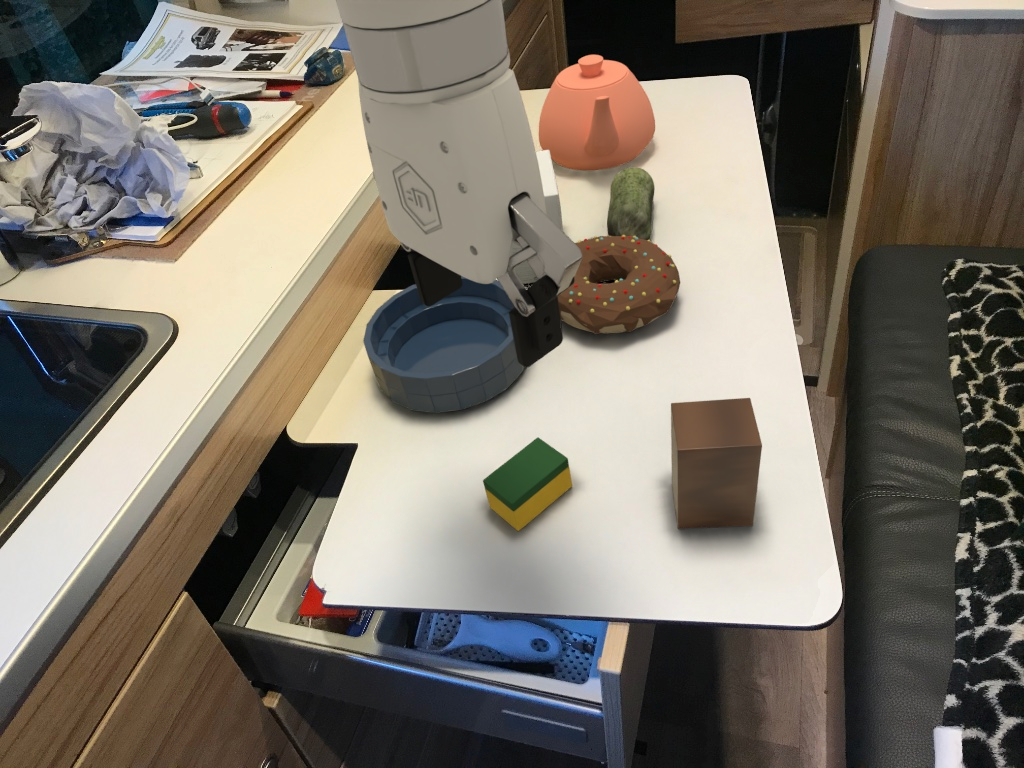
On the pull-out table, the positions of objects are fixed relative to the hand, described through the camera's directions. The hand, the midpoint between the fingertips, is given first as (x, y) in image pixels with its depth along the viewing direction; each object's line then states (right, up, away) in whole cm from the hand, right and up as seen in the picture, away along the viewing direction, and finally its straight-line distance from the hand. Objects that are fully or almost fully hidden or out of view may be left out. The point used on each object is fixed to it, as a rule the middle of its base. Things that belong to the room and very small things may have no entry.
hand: (489, 322), depth 47 cm
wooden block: (+17, -13, +10) cm, 23 cm away
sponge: (+3, -13, +13) cm, 19 cm away
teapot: (+13, +27, +54) cm, 62 cm away
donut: (+12, +4, +30) cm, 32 cm away
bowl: (-4, -2, +27) cm, 27 cm away
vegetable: (+15, +14, +40) cm, 45 cm away
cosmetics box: (+4, +11, +38) cm, 40 cm away
